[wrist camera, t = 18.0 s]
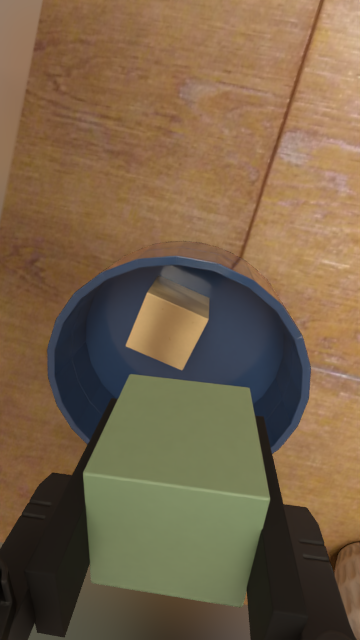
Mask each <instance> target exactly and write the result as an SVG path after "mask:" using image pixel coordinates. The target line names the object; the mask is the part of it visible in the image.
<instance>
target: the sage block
mask: <svg viewBox="0 0 360 640" xmlns="http://www.w3.org/2000/svg"><path fill="white" fill-rule="evenodd" d="M83 481H84V494H85V503H86V516H87V530H88V543H89V557H90V574H91V582H92V583H95V584H101V585H108V586H113V587H119V588H125V589H132V590H138V591H144V592H150V593H156V594H162V595H168V596H174V597H181V598H186V599H192V600H198V601H204V602H211V603H217V604H223V605H229V606H235V607H243V603H244V599H245V596H246V592H247V584H248V580H249V576H250V573H251V569H252V565H253V561H254V557H255V553H256V549H257V545H258V541H259V537H260V533H261V529H263V525H264V522H265V518H266V514H267V510H268V506H269V502H270V495H269V489H268V484H267V479H266V473H265V468H264V462H263V457H262V452H261V446H260V441H259V435H258V430H257V425H256V419H255V414H254V409H253V403H252V398H251V392H250V388H248V387H239V386H230V385H222V384H213V383H204V382H196V381H187V380H178V379H169V378H161V377H152V376H143V375H135V374H130V375H129V377H128V379H127V381H126V383H125V385H124V387H123V389H122V392H121V394H120V396H119V398H118V400H117V402H116V404H115V406H114V408H113V411H112V413H111V415H110V417H109V419H108V421H107V423H106V425H105V427H104V430H103V432H102V434H101V436H100V438H99V440H98V442H97V444H96V447H95V449H94V451H93V453H92V455H91V457H90V459H89V461H88V463H87V466H86V468H85V470H84V472H83Z"/></svg>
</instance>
